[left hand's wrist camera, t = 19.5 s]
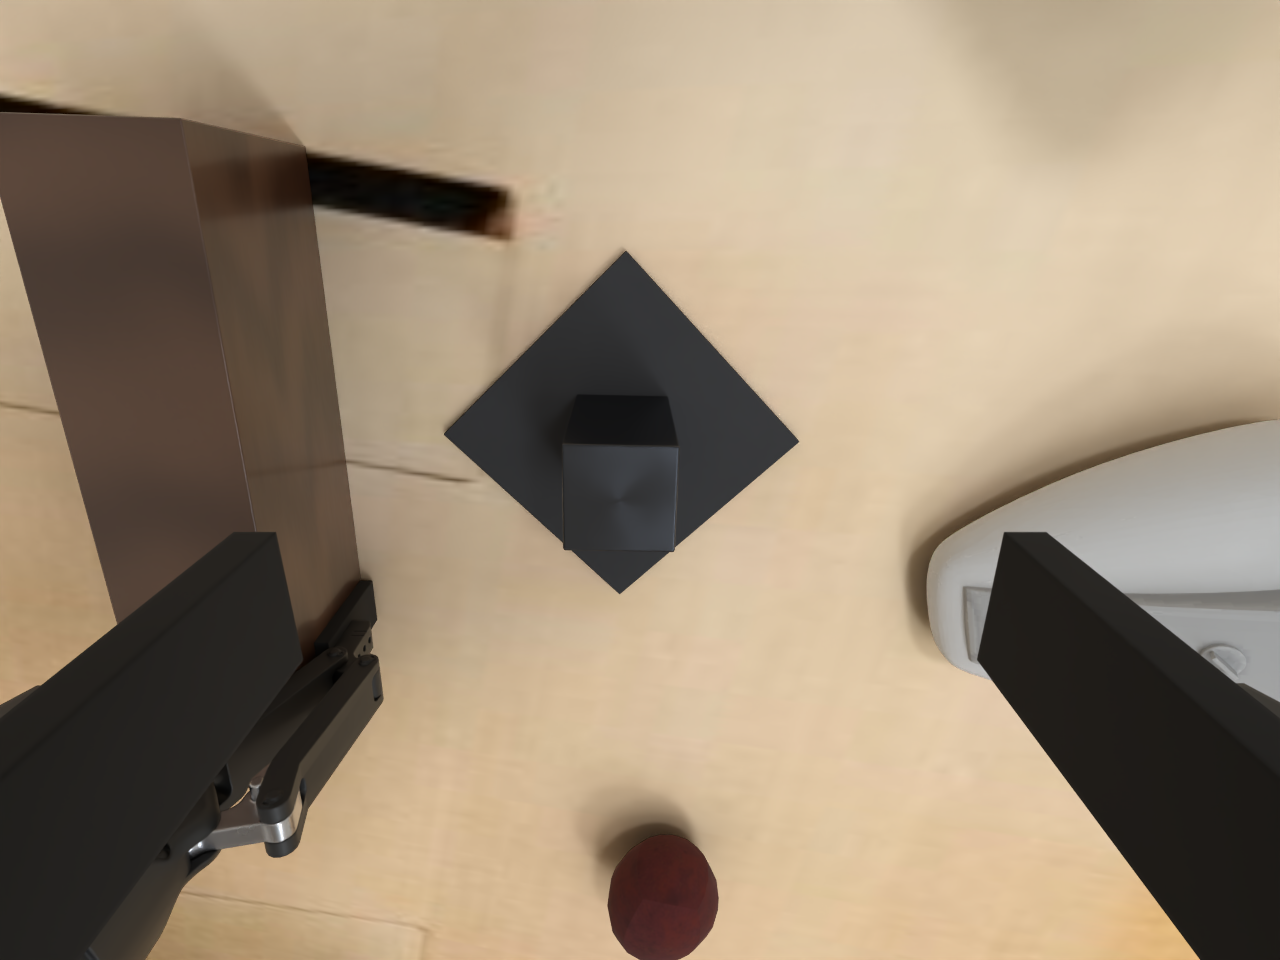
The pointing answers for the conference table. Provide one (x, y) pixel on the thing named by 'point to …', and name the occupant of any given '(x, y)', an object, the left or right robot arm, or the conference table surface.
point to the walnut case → (185, 346)
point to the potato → (662, 899)
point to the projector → (1148, 548)
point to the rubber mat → (622, 365)
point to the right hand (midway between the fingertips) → (303, 599)
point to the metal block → (620, 474)
